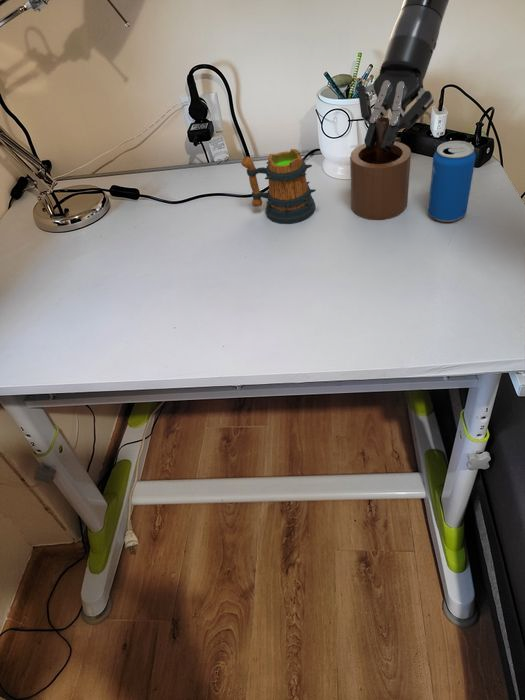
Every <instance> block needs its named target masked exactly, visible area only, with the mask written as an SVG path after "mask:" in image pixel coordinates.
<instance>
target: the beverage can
mask: <svg viewBox="0 0 525 700" xmlns="http://www.w3.org/2000/svg"><path fill="white" fill-rule="evenodd" d="M476 156H477V155H476V151H475V146H474V145H473V144H472V143H470V142H469V141H468V142H467V141H464V140H449V141H446V142H445V141H444V142H443V143H440V144H439V145H438V146H437V148H436V150H435V152H434V154H433V157H432V165H431V175H430V185H429V196H428V205H427V213H428V215H429V216H430V217H432V218H433V219H434V220H436V221H438V222H442V223H452V222H455V221H458V220H460V219H461V218H463V217H464V216H465V215H466V214H467V213H468V206H469V199H470V192H471V186H472V180H473V176H474V175H473V174H474V170H475V162H476Z"/></svg>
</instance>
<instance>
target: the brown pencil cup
mask: <svg viewBox="0 0 525 700" xmlns="http://www.w3.org/2000/svg"><path fill="white" fill-rule="evenodd" d="M375 157H376V143H375V146H374V149H373V150H369V149H368V148H367V147H366V144H365V143H362V144H360V145H358V146H356V147H355V148H354V149H353V150H352V151H351V152H350V157H349V159H350V160H349V161H350V163H349V164H350V165H349V166H350V205H351V207H350V208H351V210H352V212H353V213H354V214H355V215H356V216H358V217H360V218H363V219H367V220H370V221H371V220H373V221H382V220H383V221H384V220H388V219H393V218H395V217H398V216H400V215H401V214H402V213H404V212H405V210H406V209H407V207H408V201H409V199H408V198H409V186H410V175H411V174H410V171H411V161H412V160H411V157H412V150H411V148H410V147H409V146H408V145H406V144H405V143H403V142H399V141H396V140H395V143H394V146H393V147H392V149H389V151H388V160H393V161H392V162H390V163H385V164H372V161H375Z"/></svg>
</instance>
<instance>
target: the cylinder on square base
mask: <svg viewBox="0 0 525 700" xmlns="http://www.w3.org/2000/svg"><path fill="white" fill-rule="evenodd" d="M390 120H391V119H390V118H389V117H386V116H385V117H383V118H378V119H377V120H376V157H375V161H372V164H385V163H390V162H392V161H393V160H388V152H383V151H382V149H381V144H382V141H383V138H384V135H385V132H386V129H387V126H390Z"/></svg>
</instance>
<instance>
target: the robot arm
mask: <svg viewBox="0 0 525 700" xmlns="http://www.w3.org/2000/svg"><path fill="white" fill-rule="evenodd" d="M449 3H450V0H403V2H402V5H401V9H400V12H399V15H398V17H397V19H396V21H395V24H394V25H393V28H392V31H391V35H390V38H389V40H388V43H387V47H386V50H385V53H384V56H383V59H382V61H381V64H380V70H379V73H378V75H377V77H376V78H375V79H374V80H373V83H371V84H369V85H367V86H364V84H361V85H359V86H358V88H357V94H358V102H359V109H360V116H361V118H362V119H363V121H364V122H365V124H367V125H368V128H367V131H366V134H365V137H364V140H363V141H364V144H366V147H367V148H368V149H369V150H373V149H374V146H375V143H376V120H377V119H378V118H383V117H385V118H386V117H387V115H388V113H389V111H390V110H391V115H390V119H389V120H390V121H389V126H387V129H386V132H385V135H384V138H383V141H382V144H381V149H382V151H383V152H388V151H389V149H392V147H393V146H394V143H395V141H396V139H397V136H398V134H399V132H400V131H401V130H403V129H406V130H410V129H411V128H412V127H414V125H415V124H416V123H417V122H418V120H420V118H421V117H423V115H424V114H425V113H426V111H428V110H429V109H430V107H431V106H432V105H433V104H434V102H435V99H434V97H433V94H432V93H431V92H430V90H425V89H424V79H425V78H426V74H427V72H428V68H429V65H430V62H431V59H432V57H433V54H434V51H435V50H436V47H437V42H438V38H439V35H440V30H441V25H442V23H443V19H444V18H445V17H444V16H445V14H446V11H447V7H448V5H449ZM374 93H375V96H376V100H375V103H374V104H373V110H372V104H371V101H372V100H373V97H374ZM413 101H415V102H414V104H413V105H412V106H411V107H410V108H409V109H408V110H407V108H408V106H409V105H410V104H412V102H413Z"/></svg>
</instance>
